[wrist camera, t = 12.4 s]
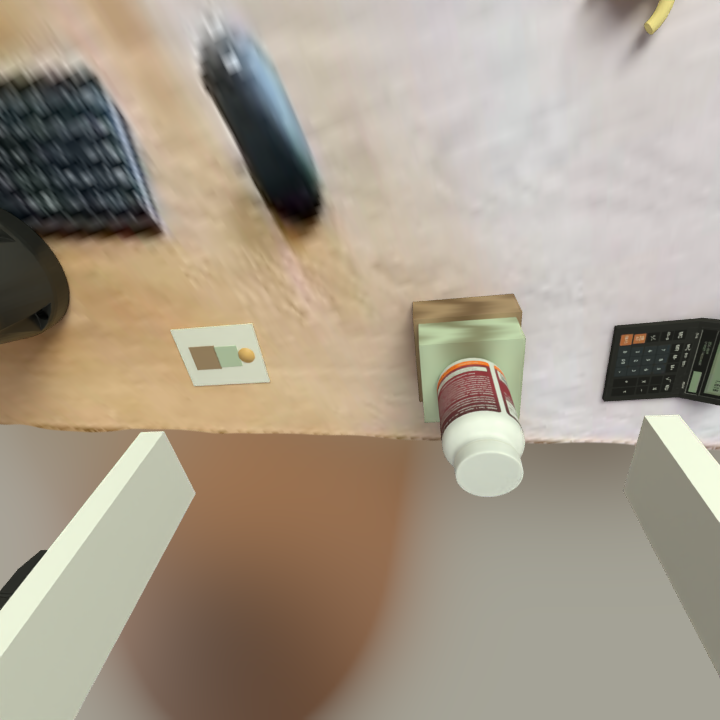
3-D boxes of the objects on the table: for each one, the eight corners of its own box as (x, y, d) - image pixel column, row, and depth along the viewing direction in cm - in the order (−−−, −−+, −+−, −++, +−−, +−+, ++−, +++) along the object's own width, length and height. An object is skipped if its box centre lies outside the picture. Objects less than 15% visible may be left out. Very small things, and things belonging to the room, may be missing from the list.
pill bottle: (425, 395, 40) (428, 487, 31) (455, 345, 37) (469, 431, 28) (483, 417, 41) (504, 514, 32) (519, 369, 37) (553, 461, 28)
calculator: (613, 324, 43) (626, 338, 41) (743, 312, 41) (765, 327, 38) (601, 396, 48) (611, 413, 45) (716, 389, 46) (734, 407, 43)
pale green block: (419, 380, 49) (420, 426, 42) (413, 302, 44) (412, 340, 37) (508, 375, 47) (524, 423, 41) (513, 293, 42) (532, 332, 35)
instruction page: (194, 385, 53) (193, 386, 53) (171, 329, 49) (169, 330, 49) (270, 381, 51) (269, 382, 51) (252, 323, 47) (251, 324, 47)
